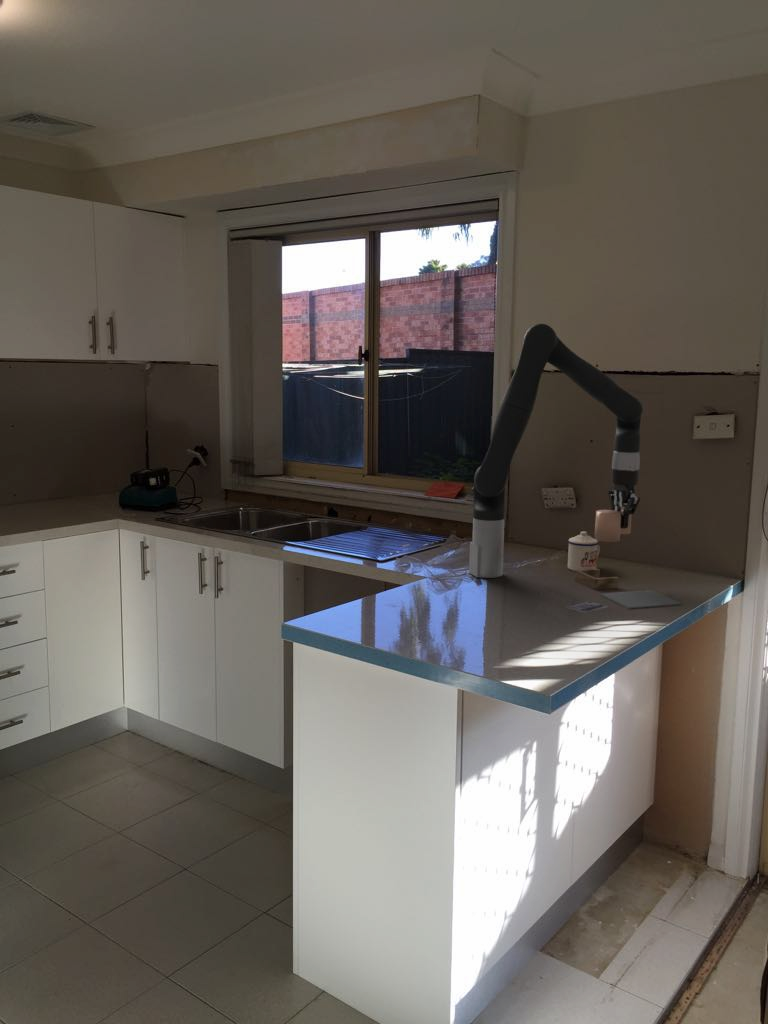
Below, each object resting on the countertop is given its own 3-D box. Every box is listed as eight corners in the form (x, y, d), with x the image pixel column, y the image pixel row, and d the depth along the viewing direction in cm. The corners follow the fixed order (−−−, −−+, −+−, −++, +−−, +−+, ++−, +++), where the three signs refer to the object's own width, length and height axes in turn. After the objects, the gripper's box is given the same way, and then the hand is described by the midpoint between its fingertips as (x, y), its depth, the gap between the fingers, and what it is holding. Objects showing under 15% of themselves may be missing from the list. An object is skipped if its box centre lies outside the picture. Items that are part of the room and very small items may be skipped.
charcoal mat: (628, 609, 223) (628, 607, 223) (599, 595, 236) (600, 593, 236) (681, 604, 227) (681, 603, 227) (650, 591, 241) (650, 589, 241)
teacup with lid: (583, 573, 260) (585, 536, 258) (560, 567, 267) (562, 531, 265) (609, 568, 267) (611, 531, 265) (586, 563, 274) (588, 527, 272)
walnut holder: (594, 589, 242) (594, 579, 241) (574, 580, 252) (575, 570, 252) (617, 587, 244) (618, 577, 243) (597, 578, 254) (598, 568, 254)
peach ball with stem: (602, 542, 242) (604, 514, 241) (589, 537, 249) (591, 510, 247) (635, 540, 245) (637, 513, 244) (621, 535, 252) (623, 508, 250)
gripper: (601, 464, 250) (597, 523, 253) (627, 470, 237) (623, 532, 240) (623, 464, 252) (619, 522, 255) (651, 470, 239) (646, 531, 242)
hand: (621, 527), depth 247 cm, fingers closed on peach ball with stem
